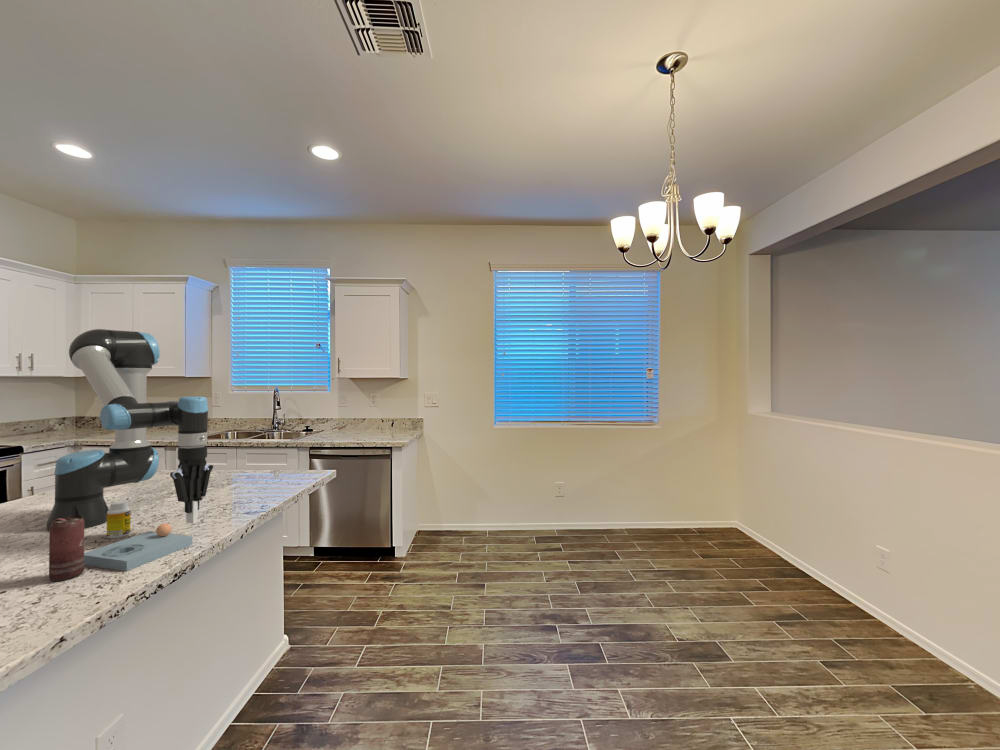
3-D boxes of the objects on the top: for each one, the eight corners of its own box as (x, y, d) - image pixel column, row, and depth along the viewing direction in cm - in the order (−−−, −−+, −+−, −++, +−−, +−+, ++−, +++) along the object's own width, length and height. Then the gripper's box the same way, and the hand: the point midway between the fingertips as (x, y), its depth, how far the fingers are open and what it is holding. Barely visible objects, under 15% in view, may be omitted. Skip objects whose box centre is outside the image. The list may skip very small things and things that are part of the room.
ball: (152, 537, 128) (152, 525, 128) (165, 533, 131) (165, 521, 131) (162, 538, 127) (162, 526, 127) (174, 534, 130) (174, 522, 130)
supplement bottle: (127, 537, 134) (127, 503, 134) (103, 540, 132) (104, 505, 132) (132, 531, 139) (133, 499, 139) (110, 534, 137) (110, 501, 137)
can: (63, 571, 111) (63, 515, 111) (90, 570, 112) (91, 515, 112) (40, 582, 105) (41, 523, 105) (69, 581, 105) (69, 522, 106)
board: (79, 564, 115) (79, 554, 115) (149, 539, 133) (149, 531, 133) (126, 571, 111) (126, 561, 111) (192, 544, 129) (192, 536, 129)
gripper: (182, 450, 130) (181, 530, 130) (220, 443, 143) (219, 516, 143) (162, 448, 132) (161, 528, 132) (201, 442, 145) (200, 514, 145)
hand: (191, 522), depth 138 cm, fingers closed
